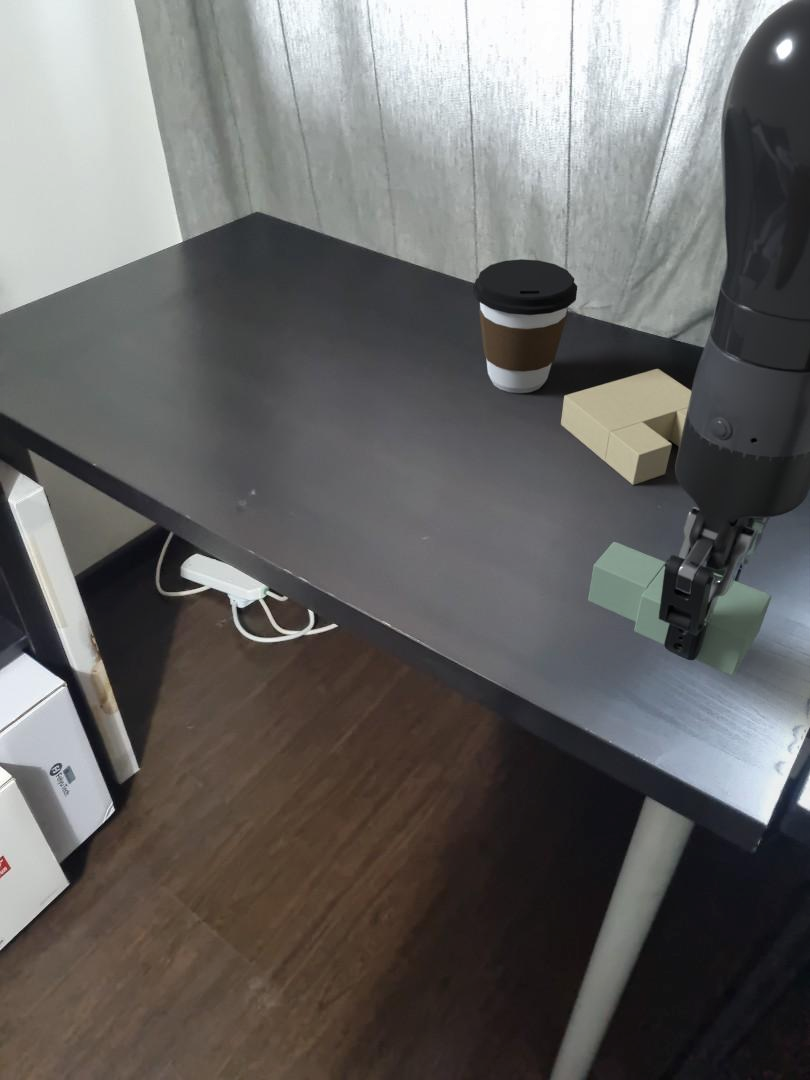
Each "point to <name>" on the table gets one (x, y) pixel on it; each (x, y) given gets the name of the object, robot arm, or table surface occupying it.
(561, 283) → the coffee cup
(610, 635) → the table surface
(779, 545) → the table surface
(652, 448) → the notch pad
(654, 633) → the pad
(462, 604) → the table surface
